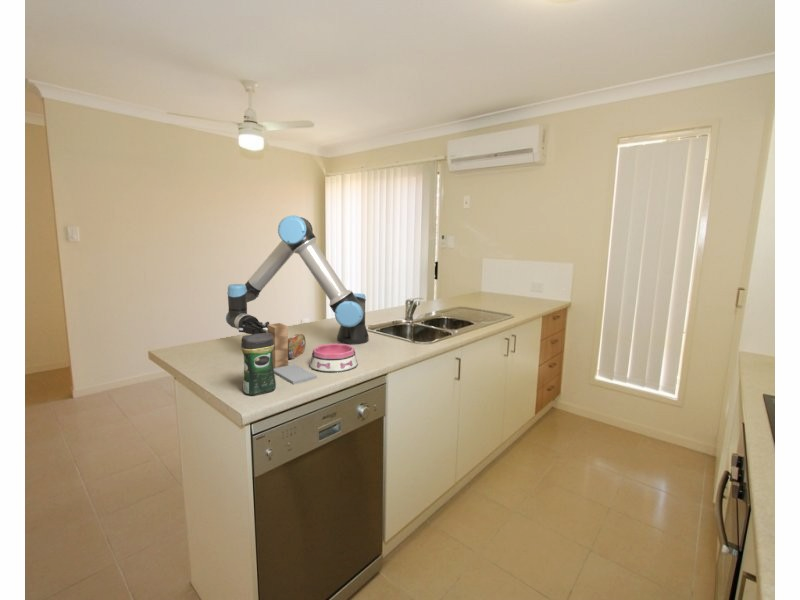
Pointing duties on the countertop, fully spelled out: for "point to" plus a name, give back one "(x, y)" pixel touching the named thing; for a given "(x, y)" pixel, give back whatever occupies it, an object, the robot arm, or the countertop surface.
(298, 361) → the countertop surface
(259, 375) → the coffee jar
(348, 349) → the dog bowl
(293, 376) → the mat
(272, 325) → the walnut block
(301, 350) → the tin
